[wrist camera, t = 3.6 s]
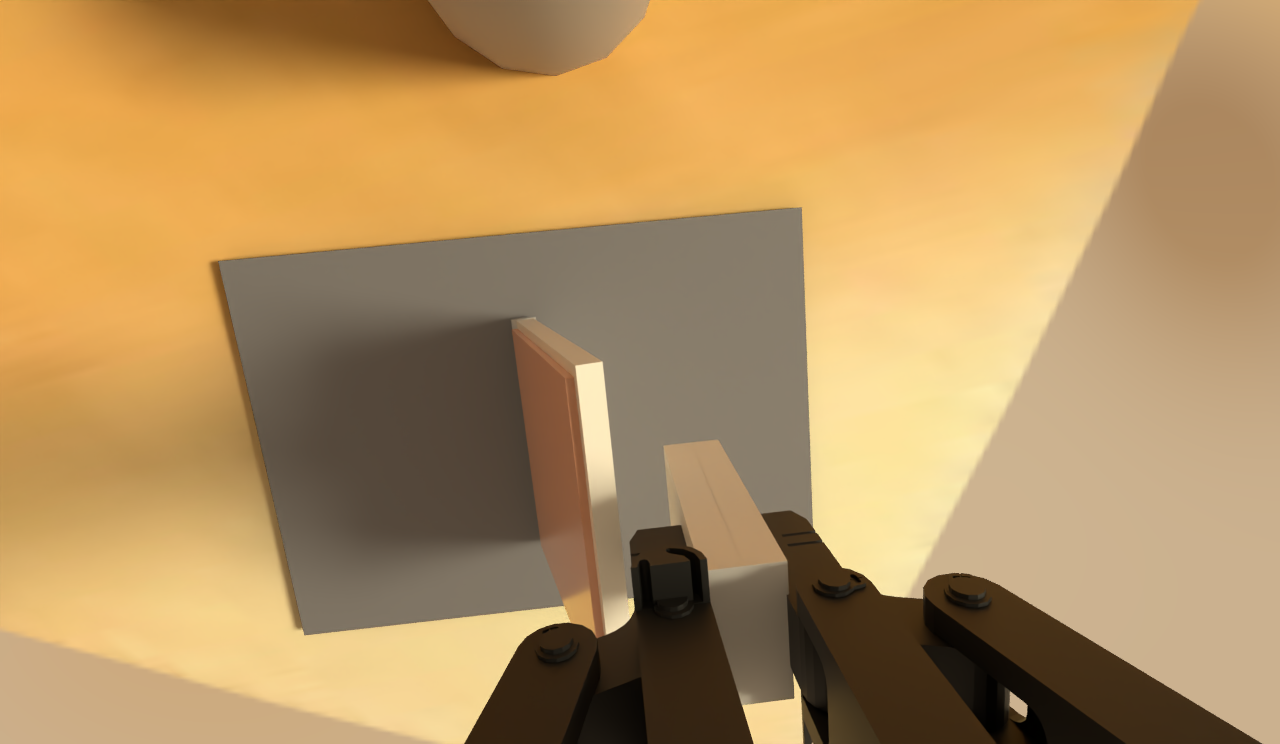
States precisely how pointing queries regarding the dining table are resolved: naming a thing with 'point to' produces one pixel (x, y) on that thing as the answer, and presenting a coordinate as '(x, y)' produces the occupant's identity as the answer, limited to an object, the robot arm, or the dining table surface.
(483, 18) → the cup
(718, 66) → the dining table surface
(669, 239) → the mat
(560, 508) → the tile
